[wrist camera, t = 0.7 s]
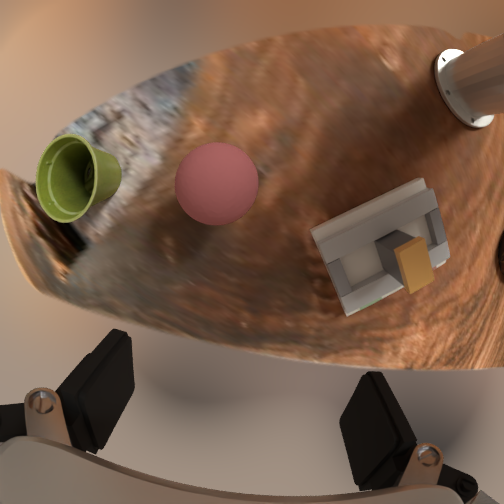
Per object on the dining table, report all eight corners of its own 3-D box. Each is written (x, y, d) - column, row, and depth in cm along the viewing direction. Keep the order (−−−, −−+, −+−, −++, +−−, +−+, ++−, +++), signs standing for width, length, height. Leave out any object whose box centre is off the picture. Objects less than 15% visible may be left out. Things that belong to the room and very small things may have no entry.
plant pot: (141, 145, 31) (106, 138, 22) (126, 218, 33) (89, 232, 25) (84, 137, 30) (44, 131, 22) (72, 204, 33) (31, 212, 24)
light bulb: (252, 146, 30) (246, 127, 19) (265, 206, 32) (266, 222, 20) (192, 159, 31) (154, 150, 19) (205, 218, 33) (174, 240, 21)
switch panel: (417, 177, 30) (429, 178, 27) (440, 259, 33) (451, 265, 30) (309, 229, 32) (313, 234, 30) (343, 311, 35) (350, 322, 32)
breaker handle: (394, 225, 30) (424, 238, 23) (404, 260, 31) (434, 280, 24) (372, 236, 31) (398, 252, 24) (384, 271, 32) (410, 294, 25)
